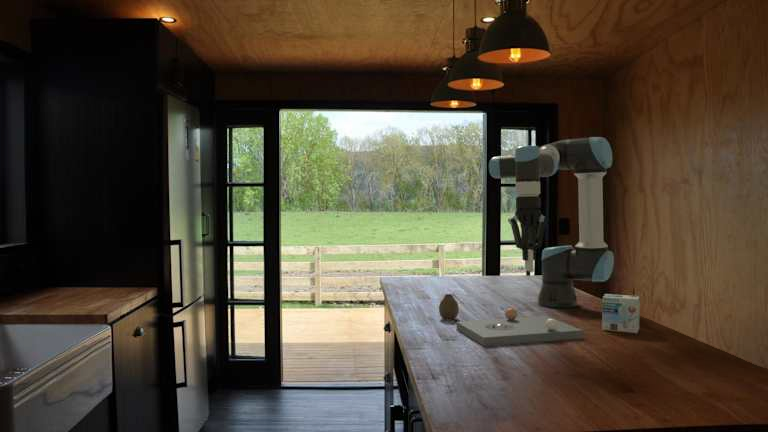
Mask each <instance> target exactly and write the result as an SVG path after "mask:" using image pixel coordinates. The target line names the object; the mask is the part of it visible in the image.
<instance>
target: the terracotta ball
mask: <svg viewBox="0 0 768 432" xmlns="http://www.w3.org/2000/svg"><path fill="white" fill-rule="evenodd" d="M504 316H505V319H509V320H514V319H515V318H518V312H517V310H516V309H515V308H514V307H508V308H506V310H505V311H504Z"/></svg>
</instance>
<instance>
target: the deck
mask: <svg viewBox="0 0 768 432" xmlns="http://www.w3.org/2000/svg"><path fill="white" fill-rule="evenodd" d="M548 319H554V320H555V321H556V322H557V328H556V329H555V330H552V331H551V330H548V329H547V328H546V326H545V323H546V321H547V320H548ZM497 324H502V325H504V326H505V329H496V328H495V326H496V325H497ZM456 330H457V331H458V332H460V333H462V334H463V335H465V336H466V337H468V338H470V339H471V340H473V341H475V342H476V343H478V344H479V345H481V346H482V347H488V346H489V347H490V346H503V345H516V344H527V343H528V344H529V343H530V344H531V343H543V342H552V341H553V342H555V341H566V340H567V341H569V340H580V339H581V340H582V339H584V335H583V334H584V332H583V331H584V330H583V329H580V328H578V327H576V326H573V325H571V324H569V323H566V322H563V321H561V320H557V319H555V318H552V317H550V316H548V315H539V316H526V317H525V316H524V317H516V318H515V319H514V320H509V319H507V318H495V319H479V320H478V319H477V320H465V321H463V320H462V321H456Z"/></svg>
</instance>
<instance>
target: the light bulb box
mask: <svg viewBox="0 0 768 432" xmlns="http://www.w3.org/2000/svg"><path fill="white" fill-rule="evenodd" d="M601 301H602V307H601V308H602V309H601V313H602V314H601V315H602V317H601V325H602V326H601V330H602V331H611V332H619V333H620V332H623V333H632V334H638V332H639V330H640V295H626V294H611V293H604V295H603V296H602V300H601Z"/></svg>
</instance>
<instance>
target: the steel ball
mask: <svg viewBox="0 0 768 432" xmlns="http://www.w3.org/2000/svg"><path fill="white" fill-rule="evenodd" d="M495 328H496V329H505V326H504V325H502V324H497V325H496V326H495Z"/></svg>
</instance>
